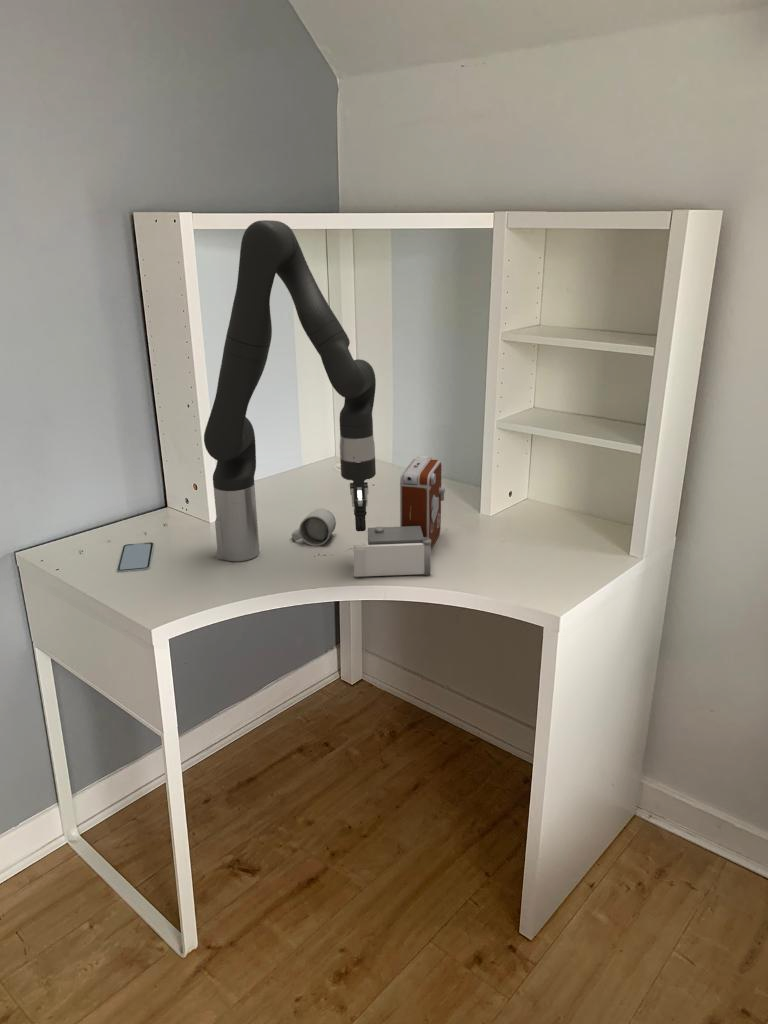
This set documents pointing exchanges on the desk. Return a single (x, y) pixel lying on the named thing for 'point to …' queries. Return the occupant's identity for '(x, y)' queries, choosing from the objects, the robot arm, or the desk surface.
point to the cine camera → (422, 496)
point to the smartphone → (136, 557)
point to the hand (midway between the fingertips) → (360, 530)
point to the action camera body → (396, 535)
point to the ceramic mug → (316, 527)
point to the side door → (392, 559)
